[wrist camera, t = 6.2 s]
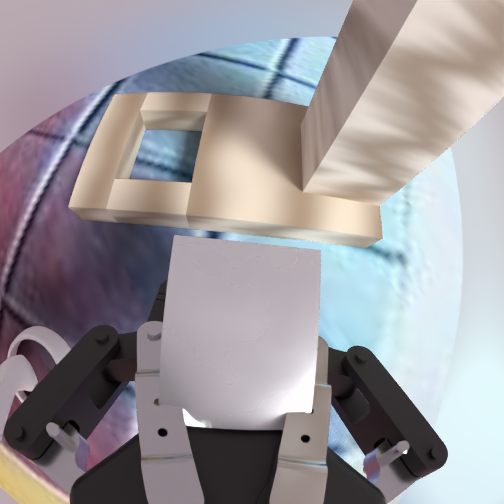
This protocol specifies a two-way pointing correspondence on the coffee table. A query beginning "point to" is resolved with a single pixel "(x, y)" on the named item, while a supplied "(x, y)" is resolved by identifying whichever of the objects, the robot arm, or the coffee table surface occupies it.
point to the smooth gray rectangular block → (239, 332)
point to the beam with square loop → (311, 131)
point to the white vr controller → (25, 368)
